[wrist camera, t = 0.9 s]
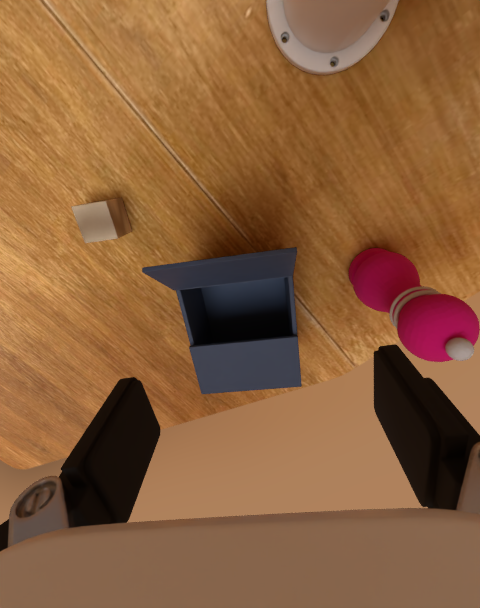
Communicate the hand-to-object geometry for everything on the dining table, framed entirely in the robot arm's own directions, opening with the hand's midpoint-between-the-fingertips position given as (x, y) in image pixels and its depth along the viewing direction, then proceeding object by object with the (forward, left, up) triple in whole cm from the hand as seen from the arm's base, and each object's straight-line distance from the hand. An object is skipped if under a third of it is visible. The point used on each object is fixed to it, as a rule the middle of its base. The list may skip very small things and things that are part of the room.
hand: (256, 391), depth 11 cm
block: (-5, -19, -30) cm, 36 cm away
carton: (+10, -3, -30) cm, 32 cm away
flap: (+1, -3, -17) cm, 17 cm away
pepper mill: (+7, +15, -30) cm, 34 cm away
